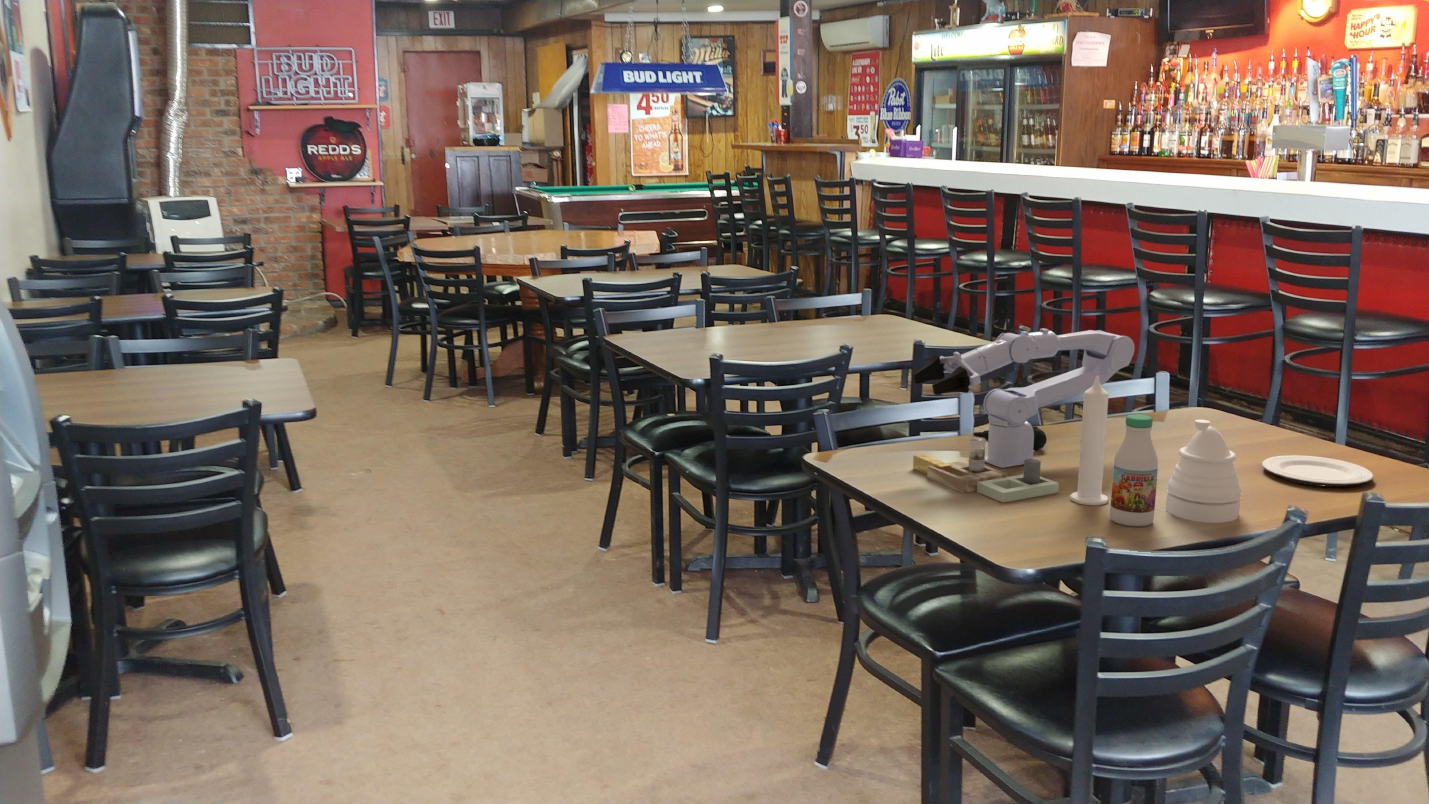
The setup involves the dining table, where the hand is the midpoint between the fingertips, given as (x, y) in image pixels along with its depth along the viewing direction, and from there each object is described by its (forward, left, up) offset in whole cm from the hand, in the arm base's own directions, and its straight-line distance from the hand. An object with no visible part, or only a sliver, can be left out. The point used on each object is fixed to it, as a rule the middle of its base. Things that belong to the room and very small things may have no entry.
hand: (923, 384), depth 240 cm
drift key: (-1, +2, -19) cm, 19 cm away
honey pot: (-32, +46, -19) cm, 59 cm away
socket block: (-5, +10, -19) cm, 22 cm away
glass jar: (-6, +11, -19) cm, 23 cm away
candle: (-18, +31, -19) cm, 41 cm away
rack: (-9, +21, -19) cm, 29 cm away
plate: (-72, +40, -20) cm, 84 cm away
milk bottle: (-16, +44, -19) cm, 51 cm away
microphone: (-33, -10, -20) cm, 39 cm away
